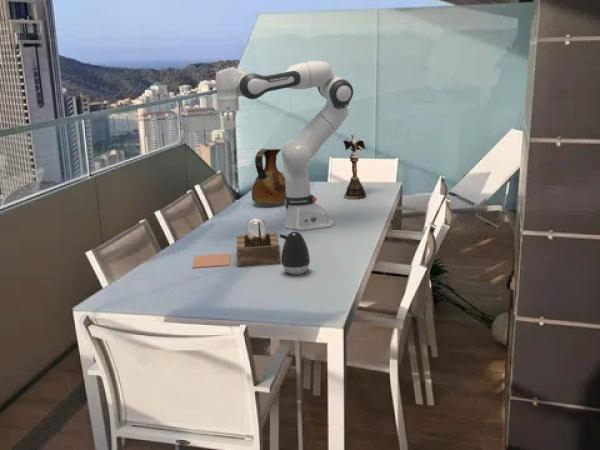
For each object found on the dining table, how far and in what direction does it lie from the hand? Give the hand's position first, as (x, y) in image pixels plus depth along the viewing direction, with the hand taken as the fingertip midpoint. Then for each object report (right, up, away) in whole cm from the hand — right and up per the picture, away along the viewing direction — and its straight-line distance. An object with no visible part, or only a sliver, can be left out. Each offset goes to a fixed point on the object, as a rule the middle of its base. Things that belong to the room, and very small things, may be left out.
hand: (231, 140), depth 261 cm
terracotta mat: (-5, -50, -21) cm, 54 cm away
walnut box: (+13, -49, -20) cm, 54 cm away
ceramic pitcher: (+14, -25, +69) cm, 74 cm away
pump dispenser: (+28, -53, -38) cm, 71 cm away
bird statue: (+59, -20, +78) cm, 100 cm away
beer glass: (+13, -49, -20) cm, 54 cm away
